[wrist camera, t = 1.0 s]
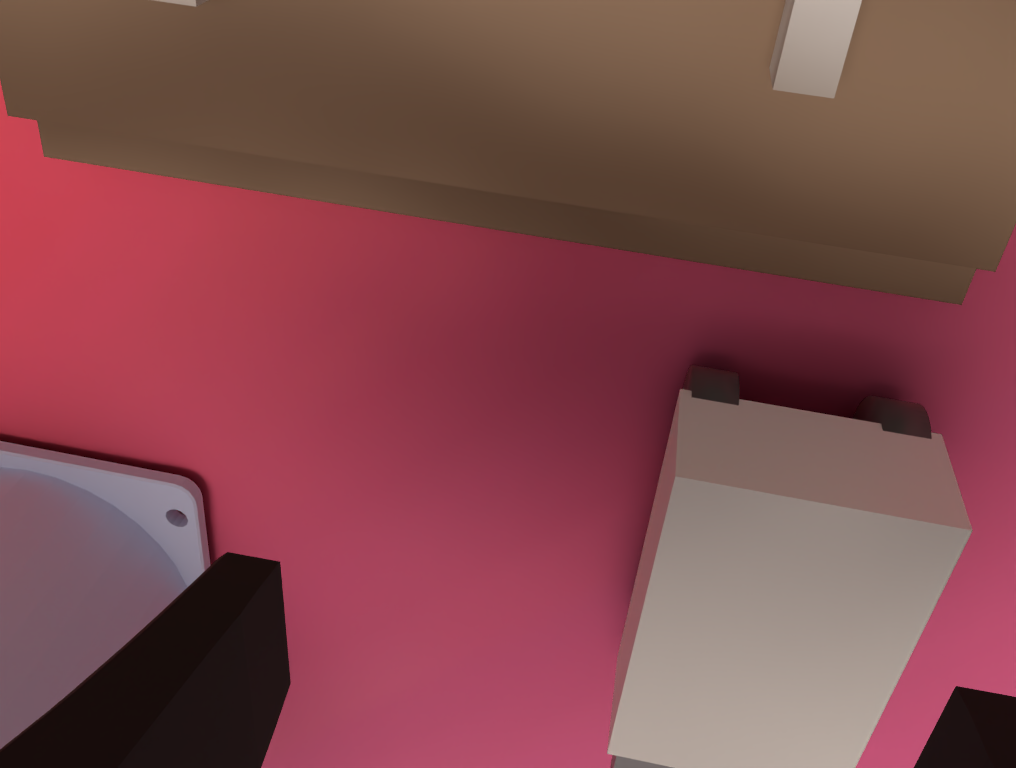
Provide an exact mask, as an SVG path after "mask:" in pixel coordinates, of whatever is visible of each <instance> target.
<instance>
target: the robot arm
mask: <svg viewBox="0 0 1016 768" xmlns="http://www.w3.org/2000/svg"><path fill="white" fill-rule="evenodd" d="M177 510H178V511H181V512H182V513H183V514H185V515H183V514H181V513H179V512H178V511H177ZM289 686H290V672H289V660H288V648H287V637H286V625H285V613H284V602H283V590H282V578H281V567H280V562H278V561H273V560H267V559H262V558H256V557H251V556H245V555H240V554H234V553H229V552H227V553H226V554H224V555H223V556H221V557H219V558H218V559H217V560H216V561H215V562H214V563H213V564H212V565H210V557H209V548H208V540H207V531H206V523H205V514H204V506H203V497H202V494H201V491H200V489H199V487H198V486H197V485H196V484H195V483H194V482H193V481H192V480H190V479H189V478H186V477H183V476H181V475H176V474H171V473H165V472H160V471H155V470H150V469H144V468H139V467H134V466H129V465H124V464H118V463H113V462H108V461H103V460H97V459H92V458H87V457H82V456H77V455H71V454H66V453H61V452H56V451H51V450H45V449H40V448H35V447H30V446H24V445H19V444H14V443H9V442H4V441H0V768H261V766H262V763H263V760H264V758H265V755H266V752H267V749H268V747H269V744H270V741H271V738H272V736H273V733H274V730H275V727H276V724H277V721H278V718H279V715H280V712H281V710H282V707H283V704H284V701H285V698H286V695H287V692H288V689H289ZM914 768H1016V697H1012V696H1007V695H1002V694H996V693H991V692H985V691H980V690H974V689H969V688H963V687H958V686H956V687H955V689H954V691H953V693H952V695H951V697H950V699H949V701H948V702H947V704H946V706H945V708H944V710H943V712H942V714H941V716H940V718H939V720H938V722H937V724H936V726H935V728H934V730H933V732H932V734H931V735H930V737H929V739H928V741H927V743H926V745H925V747H924V749H923V751H922V753H921V755H920V757H919V759H918V761H917V763H916V765H915V767H914Z"/></svg>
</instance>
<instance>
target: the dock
mask: <svg viewBox="0 0 1016 768" xmlns="http://www.w3.org/2000/svg"><path fill="white" fill-rule="evenodd" d="M0 80H1V85H2V90H3V95H4V100H5V104H6V109H7V114H8V116H13V117H20V118H26V119H32V120H37V122H38V127H39V132H40V138H41V143H42V148H43V153H44V157H50V158H56V159H62V160H69V161H75V162H81V163H87V164H93V165H100V166H106V167H112V168H118V169H124V170H130V171H137V172H143V173H149V174H155V175H161V176H168V177H174V178H180V179H186V180H192V181H198V182H205V183H211V184H217V185H223V186H229V187H236V188H242V189H248V190H254V191H260V192H267V193H273V194H279V195H285V196H291V197H297V198H304V199H310V200H316V201H322V202H328V203H335V204H341V205H347V206H353V207H359V208H366V209H372V210H378V211H384V212H390V213H396V214H403V215H409V216H415V217H421V218H427V219H434V220H440V221H446V222H452V223H458V224H464V225H471V226H477V227H483V228H489V229H495V230H502V231H508V232H514V233H520V234H526V235H533V236H539V237H545V238H551V239H557V240H563V241H570V242H576V243H582V244H588V245H594V246H601V247H607V248H613V249H619V250H625V251H632V252H638V253H644V254H650V255H656V256H662V257H669V258H675V259H681V260H687V261H693V262H700V263H706V264H712V265H718V266H724V267H730V268H737V269H743V270H749V271H755V272H761V273H768V274H774V275H780V276H786V277H792V278H799V279H805V280H811V281H817V282H823V283H829V284H836V285H842V286H848V287H854V288H860V289H867V290H873V291H879V292H885V293H891V294H898V295H904V296H910V297H916V298H922V299H928V300H935V301H941V302H947V303H953V304H959V305H962V302H963V300H964V298H965V295H966V293H967V290H968V288H969V285H970V283H971V281H972V278H973V276H974V273H975V271H976V269H981V270H988V271H994V272H995V271H996V269H997V266H998V264H999V262H1000V259H1001V257H1002V255H1003V252H1004V250H1005V248H1006V245H1007V243H1008V240H1009V238H1010V236H1011V233H1012V231H1013V229H1014V226H1015V224H1016V0H0Z"/></svg>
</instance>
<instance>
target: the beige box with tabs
mask: <svg viewBox="0 0 1016 768" xmlns="http://www.w3.org/2000/svg"><path fill="white" fill-rule="evenodd" d="M972 531H973V530H972V527H971V524H970V521H969V518H968V515H967V512H966V509H965V505H964V502H963V499H962V496H961V493H960V490H959V487H958V483H957V480H956V477H955V474H954V471H953V468H952V465H951V462H950V458H949V455H948V452H947V449H946V446H945V443H944V440H943V437H942V434H937V433H932V432H931V427H930V422H929V417H928V415H927V412H926V410H925V409H924V407H923V406H922V405H920V404H918V403H912V402H906V401H900V400H894V399H888V398H883V397H877V396H867V397H866V398H865V399H864V400H863V401H862V402H861V403H860V405H859V406H858V408H857V410H856V412H855V414H854V416H853V418H852V419H851V418H845V417H840V416H834V415H828V414H822V413H817V412H811V411H805V410H799V409H794V408H788V407H782V406H776V405H771V404H765V403H759V402H754V401H748V400H742V399H739V376H738V373H737V372H731V371H725V370H719V369H714V368H708V367H702V366H696V365H691V366H690V367H689V370H688V372H687V375H686V378H685V382H684V386H683V389H680V391H679V396H678V400H677V404H676V408H675V413H674V417H673V421H672V426H671V430H670V434H669V438H668V443H667V447H666V451H665V455H664V460H663V464H662V468H661V472H660V477H659V481H658V485H657V490H656V494H655V498H654V502H653V507H652V511H651V515H650V519H649V524H648V528H647V532H646V536H645V541H644V545H643V549H642V554H641V558H640V562H639V566H638V571H637V575H636V579H635V583H634V588H633V592H632V596H631V600H630V605H629V609H628V613H627V618H626V622H625V626H624V630H623V635H622V639H621V643H620V647H619V652H618V656H617V665H616V674H615V683H614V693H613V702H612V712H611V721H610V730H609V740H608V749H607V754H611V755H613V756H612V760H611V768H855V767H856V765H857V763H858V761H859V759H860V757H861V755H862V753H863V751H864V749H865V747H866V745H867V743H868V741H869V739H870V737H871V735H872V733H873V731H874V729H875V727H876V725H877V723H878V721H879V719H880V717H881V715H882V713H883V711H884V709H885V707H886V705H887V703H888V701H889V698H890V696H891V694H892V692H893V690H894V688H895V686H896V684H897V682H898V680H899V678H900V676H901V674H902V672H903V670H904V668H905V666H906V664H907V662H908V660H909V658H910V656H911V654H912V652H913V650H914V648H915V646H916V644H917V642H918V640H919V638H920V636H921V634H922V632H923V630H924V628H925V626H926V624H927V622H928V620H929V618H930V616H931V614H932V612H933V610H934V608H935V605H936V603H937V601H938V599H939V597H940V595H941V593H942V591H943V589H944V587H945V585H946V583H947V581H948V579H949V577H950V575H951V573H952V571H953V569H954V567H955V565H956V563H957V561H958V559H959V557H960V555H961V553H962V551H963V549H964V547H965V545H966V543H967V541H968V539H969V537H970V535H971V533H972Z"/></svg>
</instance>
